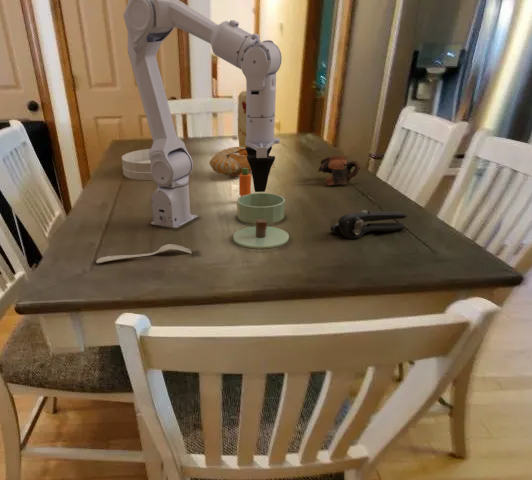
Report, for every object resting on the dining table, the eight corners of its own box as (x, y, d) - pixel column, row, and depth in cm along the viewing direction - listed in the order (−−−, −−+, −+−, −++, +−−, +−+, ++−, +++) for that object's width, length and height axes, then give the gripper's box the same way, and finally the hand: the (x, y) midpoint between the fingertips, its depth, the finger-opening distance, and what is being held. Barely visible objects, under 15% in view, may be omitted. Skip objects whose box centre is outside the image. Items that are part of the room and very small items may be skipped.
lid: (273, 255, 97) (274, 234, 94) (222, 245, 102) (222, 225, 99) (297, 236, 105) (299, 216, 102) (249, 227, 110) (249, 208, 108)
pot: (271, 228, 109) (272, 210, 106) (228, 221, 114) (228, 203, 112) (291, 214, 117) (293, 196, 114) (251, 207, 122) (251, 190, 119)
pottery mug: (316, 188, 136) (314, 158, 135) (323, 194, 144) (321, 167, 143) (358, 179, 130) (357, 148, 129) (363, 186, 139) (362, 158, 138)
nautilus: (273, 169, 155) (277, 183, 143) (209, 167, 155) (208, 182, 143) (276, 143, 150) (281, 156, 138) (209, 141, 149) (209, 154, 138)
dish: (112, 179, 150) (109, 162, 147) (137, 162, 167) (135, 147, 164) (177, 181, 145) (176, 164, 142) (196, 164, 162) (195, 148, 159)
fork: (100, 269, 100) (96, 257, 98) (195, 250, 100) (192, 238, 98) (99, 275, 97) (95, 263, 96) (196, 256, 98) (194, 243, 96)
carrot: (247, 206, 123) (247, 170, 118) (237, 204, 124) (237, 169, 119) (252, 203, 125) (253, 167, 120) (242, 201, 126) (242, 166, 121)
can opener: (341, 245, 100) (345, 219, 96) (326, 234, 105) (329, 209, 102) (413, 233, 103) (419, 208, 100) (395, 223, 109) (400, 199, 105)
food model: (236, 150, 177) (236, 89, 165) (253, 149, 178) (254, 88, 165) (239, 156, 169) (239, 92, 157) (257, 155, 170) (258, 91, 158)
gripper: (284, 120, 87) (280, 195, 95) (277, 109, 98) (274, 176, 106) (246, 122, 87) (245, 196, 95) (244, 110, 98) (244, 177, 107)
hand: (259, 186), depth 101 cm, fingers open, 7 cm apart
